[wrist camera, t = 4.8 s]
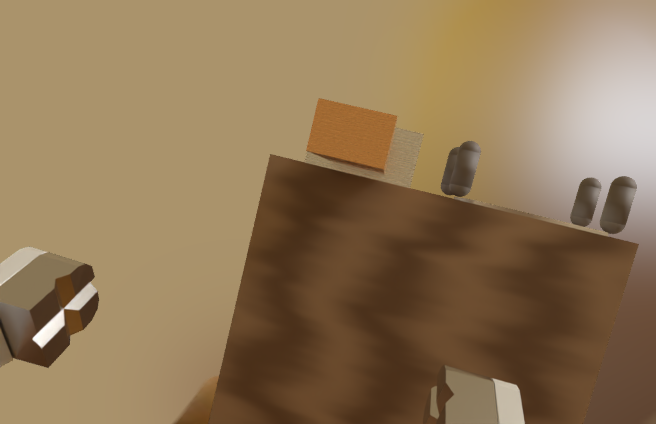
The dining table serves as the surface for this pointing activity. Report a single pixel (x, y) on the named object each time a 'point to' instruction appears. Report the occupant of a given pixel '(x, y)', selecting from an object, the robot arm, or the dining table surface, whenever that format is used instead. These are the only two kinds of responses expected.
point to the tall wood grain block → (416, 298)
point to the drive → (362, 143)
